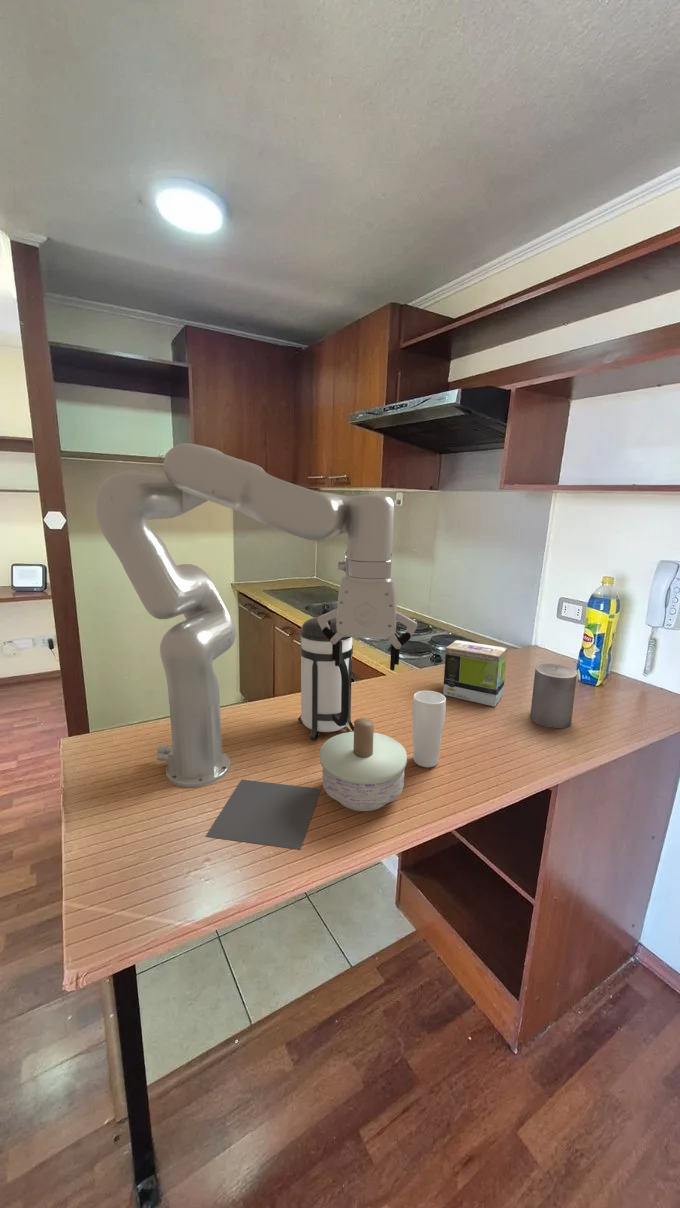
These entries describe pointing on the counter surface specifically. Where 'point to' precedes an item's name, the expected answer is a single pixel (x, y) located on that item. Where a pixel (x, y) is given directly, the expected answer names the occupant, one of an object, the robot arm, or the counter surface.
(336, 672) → the coffee press
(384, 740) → the lid
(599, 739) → the counter surface
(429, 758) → the drinking glass
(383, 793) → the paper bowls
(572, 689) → the pillar candle
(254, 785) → the mat
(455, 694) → the tea box
